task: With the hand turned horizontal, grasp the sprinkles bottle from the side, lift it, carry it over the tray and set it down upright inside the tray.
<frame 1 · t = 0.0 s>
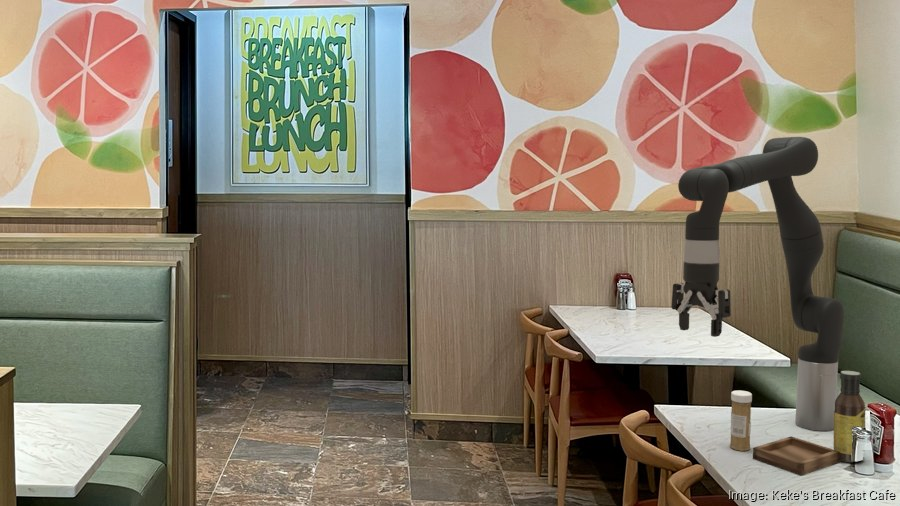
hand: (699, 332, 170), 29 cm above the table, tool pointing down, fingers open, 8 cm apart
tray: (795, 460, 173), on the table
sauce bottle: (848, 459, 174), on the table
sprinkles bottle: (739, 448, 181), on the table
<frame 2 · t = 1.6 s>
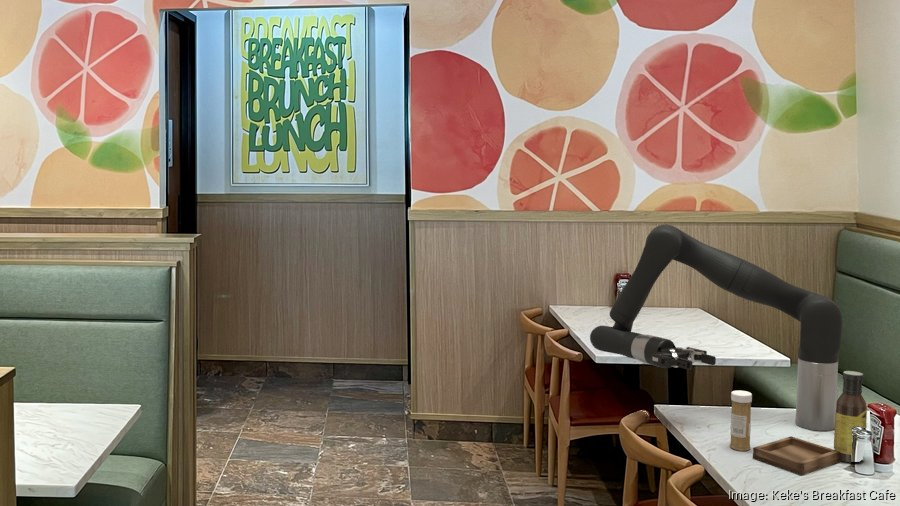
hand: (703, 363, 189), 18 cm above the table, tool horizontal, fingers open, 8 cm apart
nothing on the table moved.
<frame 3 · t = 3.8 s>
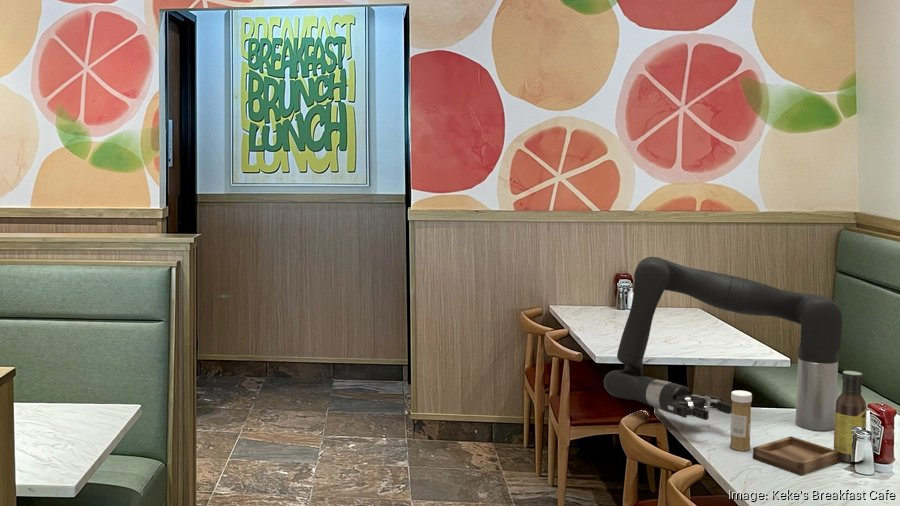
hand: (719, 412, 186), 7 cm above the table, tool horizontal, fingers open, 8 cm apart
nothing on the table moved.
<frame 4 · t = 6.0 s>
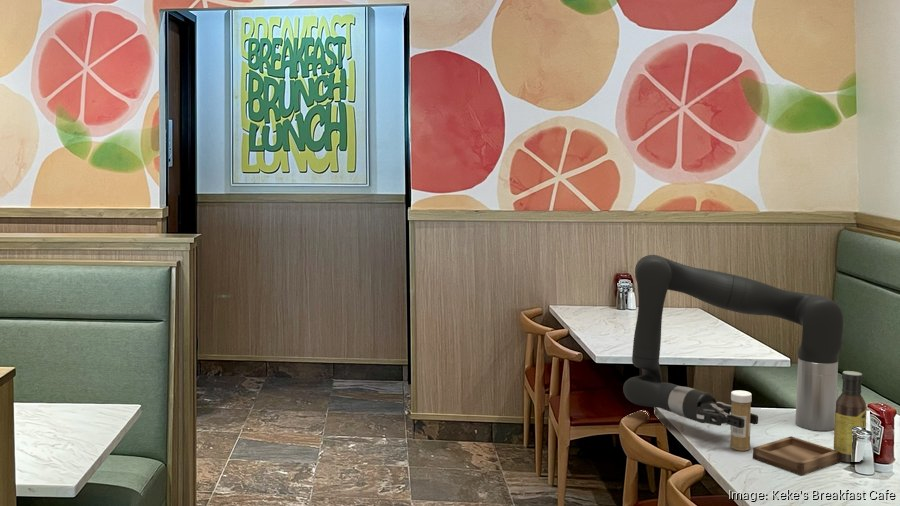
hand: (750, 421, 178), 7 cm above the table, tool horizontal, fingers closed on sprinkles bottle, 4 cm apart
sprinkles bottle: (739, 448, 181), on the table, touching gripper
everything else where it was.
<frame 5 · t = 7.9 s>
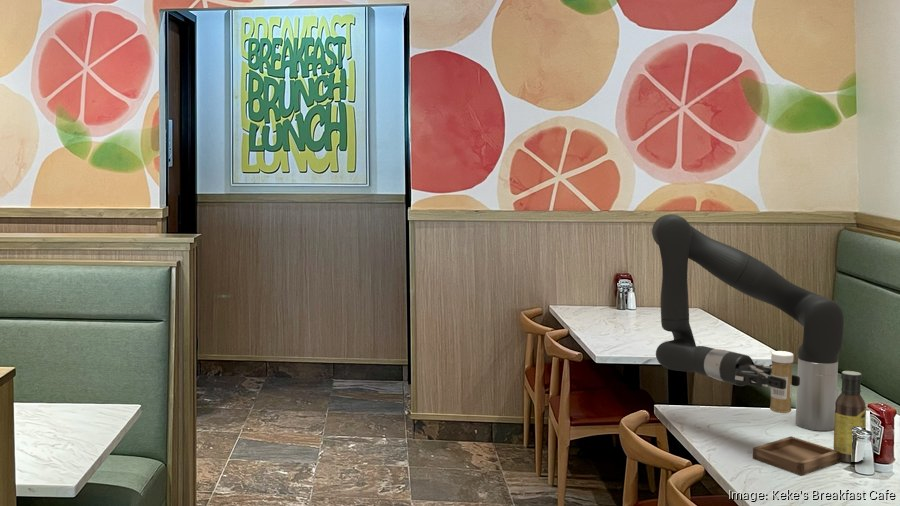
hand: (791, 383, 172), 18 cm above the table, tool horizontal, fingers closed on sprinkles bottle, 4 cm apart
sprinkles bottle: (780, 411, 175), point 11 cm above the table, touching gripper
everything else where it was.
when the fingers open (9 cm above the table, at t = 10.2 s): sprinkles bottle drops 1 cm, resting on tray.
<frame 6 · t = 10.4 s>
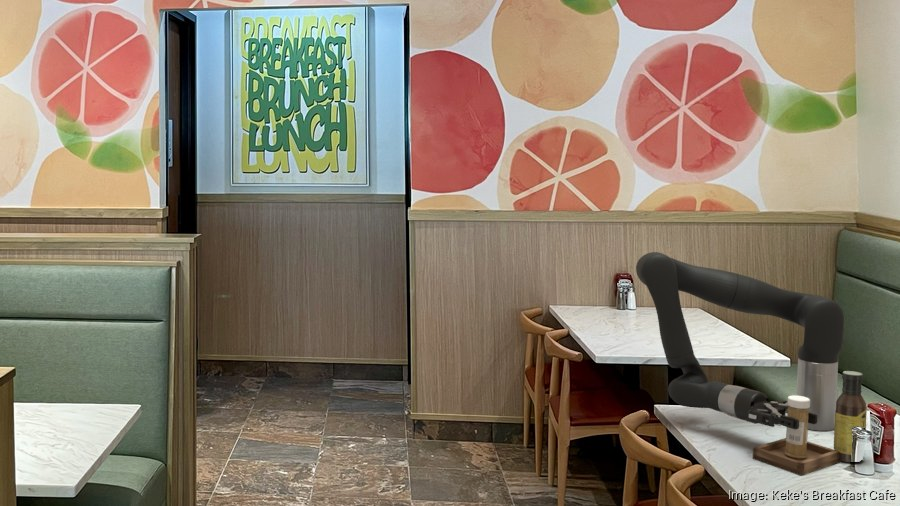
hand: (807, 422, 170), 9 cm above the table, tool horizontal, fingers open, 6 cm apart
sprinkles bottle: (795, 456, 173), point 1 cm above the table, touching tray
everything else where it was.
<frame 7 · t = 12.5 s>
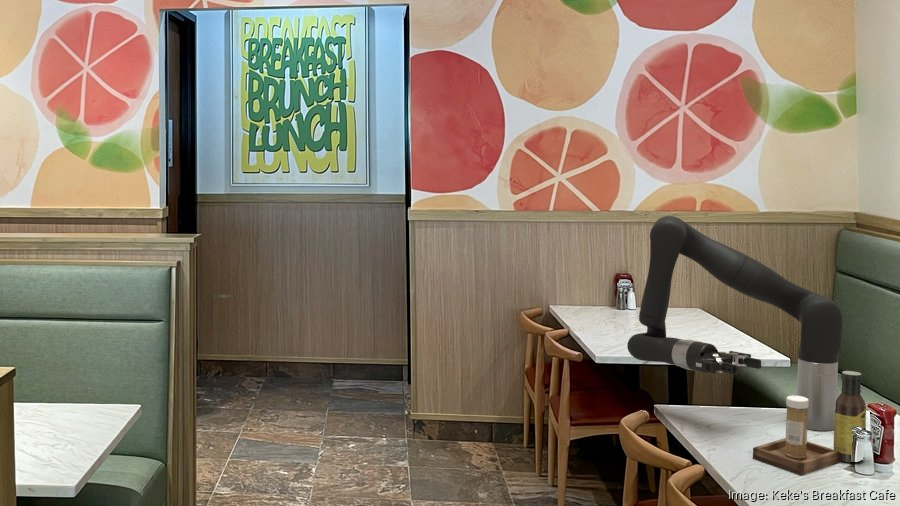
hand: (749, 367, 184), 18 cm above the table, tool horizontal, fingers open, 8 cm apart
nothing on the table moved.
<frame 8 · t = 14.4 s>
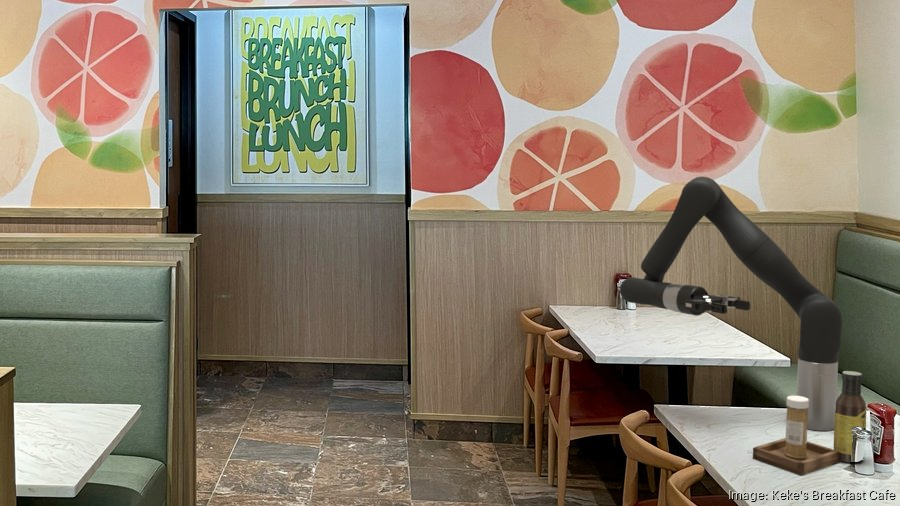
hand: (737, 307, 186), 32 cm above the table, tool horizontal, fingers open, 8 cm apart
nothing on the table moved.
at the end: sprinkles bottle inside the target area on the tray (0.1 cm from its centre), point 0.8 cm above the tray's base; sprinkles bottle tilted 0°; the gripper is holding nothing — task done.
